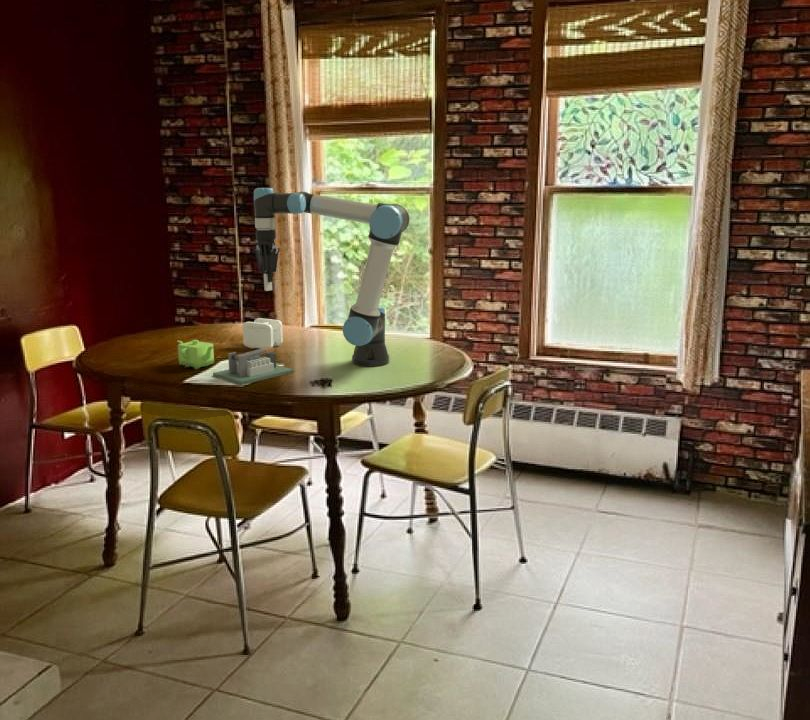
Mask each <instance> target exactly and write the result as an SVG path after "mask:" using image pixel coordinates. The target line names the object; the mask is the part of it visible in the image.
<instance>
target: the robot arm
mask: <svg viewBox="0 0 810 720" xmlns="http://www.w3.org/2000/svg"><path fill="white" fill-rule="evenodd" d="M253 207H254V226H255V227H254V228H255V239H256V240H257V245H256V246H253V247H252V248H253V251H254V253H255V257H256V263H257V267H258V271H259V272H261V274H262V279H263V286H264V291H265V292H268V291H273V281H274V280H273V274H274V273H276V272H277V267H278V257H279V253H280V251H281V249H280V248H279V247H277V246H276V244H275V239H276V238H277V237H276V235H277V233H276V230H275V228H276V219H275V218H276V214H293V215H296V214H303V213H305V214H311V215H312V214H313V215H318V216H322V217H328V218H329V217H330V218H335V219H340V220H345V221H346V220H347V221H352V222H357V223H362V224H368V225H369V232H368V236H367V237H368V239H369V242H370V246H369V249H368V253H367V258H366V261H365V266H364V270H363V273H362V278H361V282H360V286H359V289H358V294H357V296H356V297H357V298H356V301H355V303H354V304H352V305H351V306H350V308H349V313H348V316H347V319H346V320H345V321H344V323H343V325H342V335H343V337H344V338H345V340H346V341H347V343H349V344H350V345H352V346H354V350H353V354H352V355H351V363H352V364H354V365H356V366H362V367H378V366H379V367H380V366H384V365H387V363H388V364H389V363H390V355H389V353H388V349H387V344H386V309H385V307H384V306H380V305H379V304H380V301H381V298H382V293H383V290H384V286H385V282H386V277H387V275H388V272H389V266H390V263H391V260H392V255H393V251H394V249H395V248H396V247H398V246H399V245H400V241H401V238H402V237H401V236H402V233H404V232H405V231H406V230H407V228H408V226H409V224H410V215H409V212H408V210H407V209H406V207H404V206H402V204H401V205H400V204H399V203H383V202H377V203H376V204H372V203H367V202H360V201H357V200H356V201H355V200H348V199H343V198H338V197H334V196H333V197H332V196H327V195H320V194H313V193H310V192H307V191H298V192H283V193H280V192H279V193H277V192H275V191H274V188H273V187H257V188H255V189H254V190H253Z"/></svg>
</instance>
